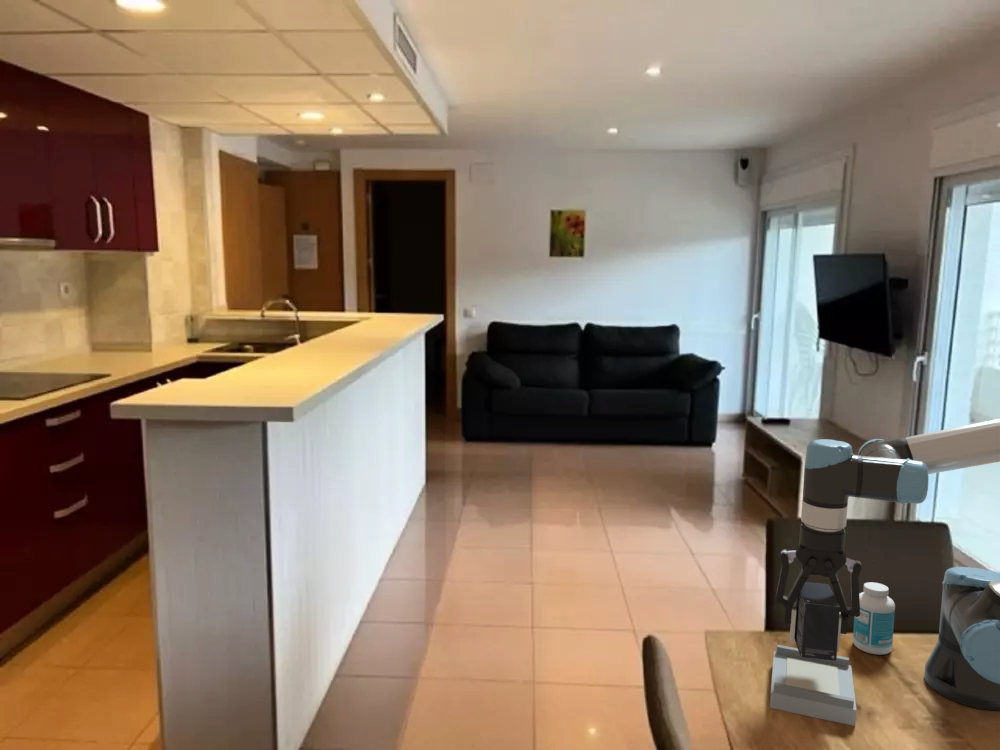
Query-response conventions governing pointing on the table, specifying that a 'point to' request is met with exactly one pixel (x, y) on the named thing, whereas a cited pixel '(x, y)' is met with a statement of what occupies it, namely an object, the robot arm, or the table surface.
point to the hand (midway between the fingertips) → (813, 644)
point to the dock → (813, 686)
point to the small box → (817, 622)
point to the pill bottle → (874, 620)
